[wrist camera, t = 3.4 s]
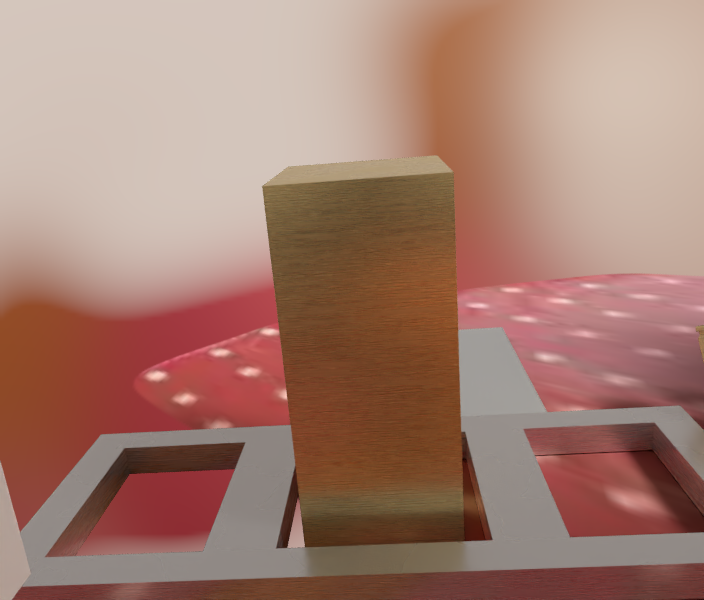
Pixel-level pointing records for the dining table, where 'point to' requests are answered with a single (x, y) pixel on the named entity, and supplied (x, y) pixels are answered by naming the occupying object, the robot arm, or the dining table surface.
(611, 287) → the dining table surface
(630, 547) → the rail
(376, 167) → the block
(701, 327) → the ammunition
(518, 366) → the mat
